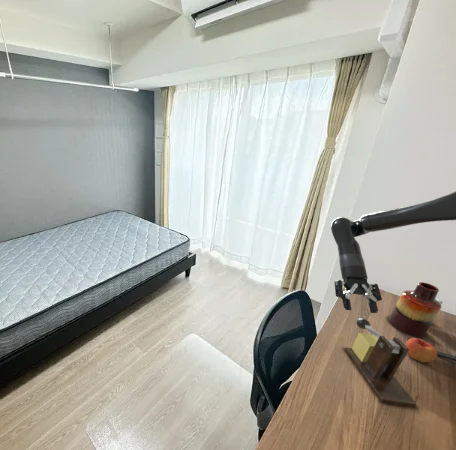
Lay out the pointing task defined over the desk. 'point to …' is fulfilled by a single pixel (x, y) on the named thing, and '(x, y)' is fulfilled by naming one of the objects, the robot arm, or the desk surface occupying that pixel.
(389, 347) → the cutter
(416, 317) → the vase
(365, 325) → the ball knob lever
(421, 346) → the apple
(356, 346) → the butter
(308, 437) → the desk surface
